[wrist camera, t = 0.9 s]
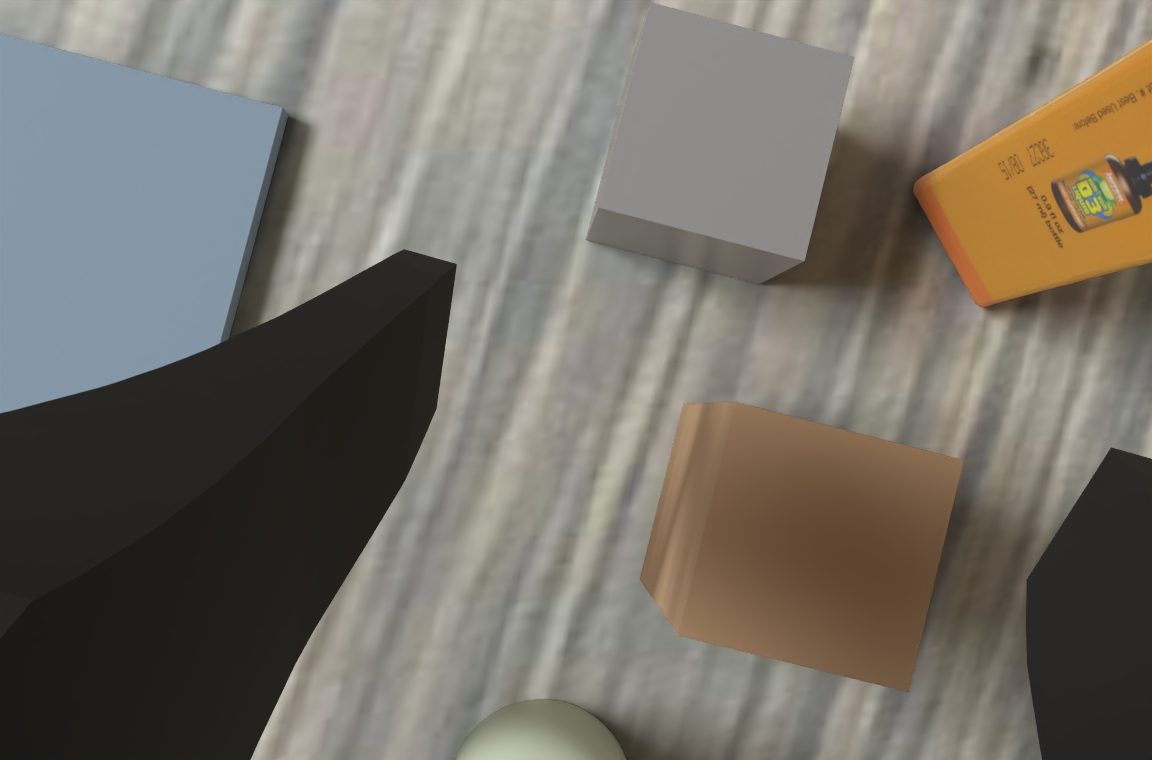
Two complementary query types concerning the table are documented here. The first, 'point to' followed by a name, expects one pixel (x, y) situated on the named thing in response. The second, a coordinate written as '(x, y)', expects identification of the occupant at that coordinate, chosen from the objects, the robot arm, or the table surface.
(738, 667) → the table surface
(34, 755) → the robot arm
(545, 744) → the sage cylinder
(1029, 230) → the supplement box
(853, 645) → the walnut block
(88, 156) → the slate mat
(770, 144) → the grey cube
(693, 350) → the table surface
